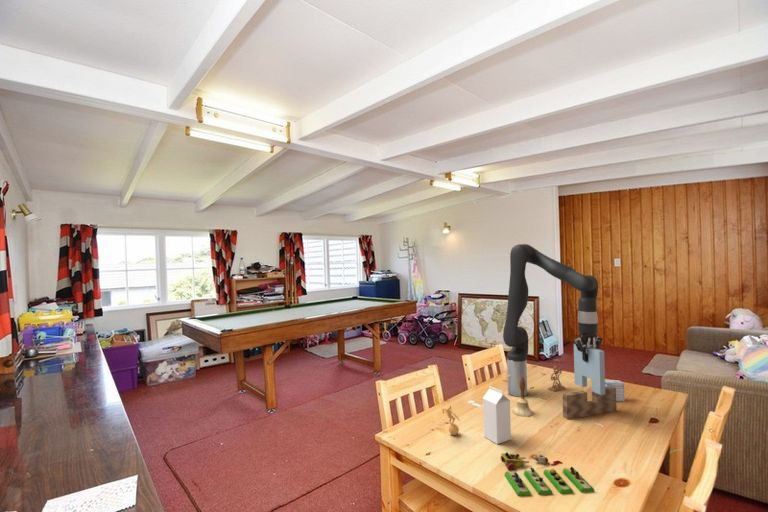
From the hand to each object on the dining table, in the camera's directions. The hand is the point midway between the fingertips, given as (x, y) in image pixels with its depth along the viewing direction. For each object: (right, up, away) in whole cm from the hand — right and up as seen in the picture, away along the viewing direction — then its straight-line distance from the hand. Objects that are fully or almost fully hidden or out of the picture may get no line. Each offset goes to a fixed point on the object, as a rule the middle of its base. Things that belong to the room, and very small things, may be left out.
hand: (588, 360), depth 160 cm
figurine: (-62, -25, -16) cm, 69 cm away
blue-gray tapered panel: (0, -12, 0) cm, 12 cm away
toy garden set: (-39, -25, -43) cm, 63 cm away
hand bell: (-27, -24, +3) cm, 37 cm away
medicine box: (+20, -23, +15) cm, 34 cm away
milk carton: (-46, -24, -19) cm, 55 cm away
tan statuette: (0, -23, +30) cm, 38 cm away
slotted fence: (+1, -23, 0) cm, 23 cm away
